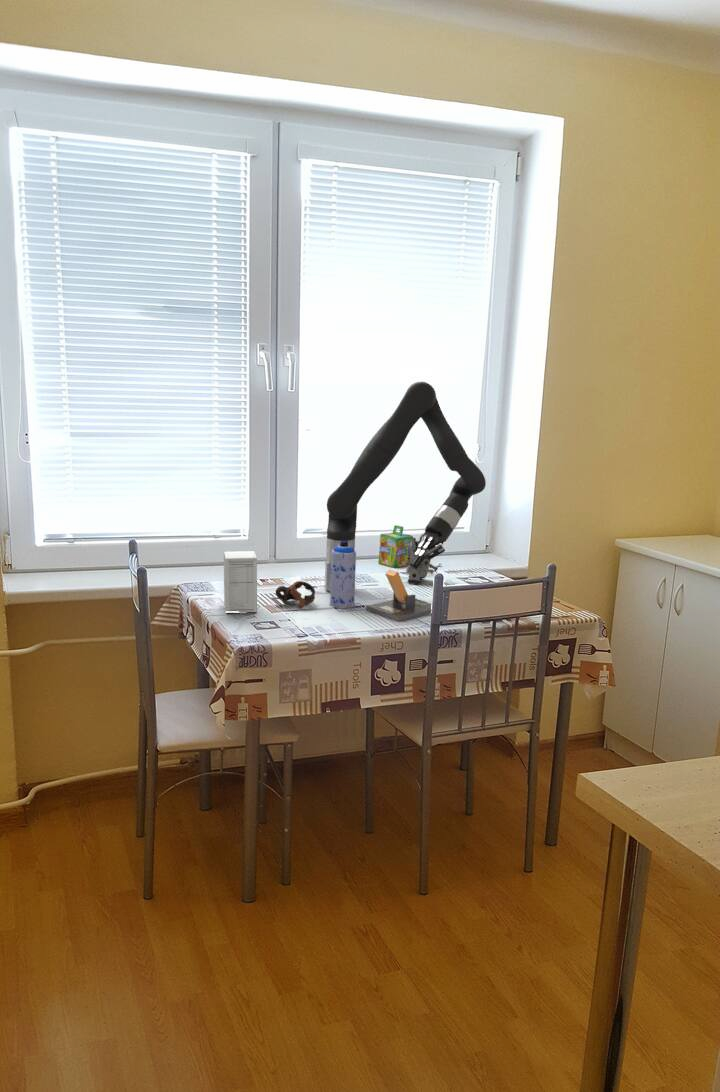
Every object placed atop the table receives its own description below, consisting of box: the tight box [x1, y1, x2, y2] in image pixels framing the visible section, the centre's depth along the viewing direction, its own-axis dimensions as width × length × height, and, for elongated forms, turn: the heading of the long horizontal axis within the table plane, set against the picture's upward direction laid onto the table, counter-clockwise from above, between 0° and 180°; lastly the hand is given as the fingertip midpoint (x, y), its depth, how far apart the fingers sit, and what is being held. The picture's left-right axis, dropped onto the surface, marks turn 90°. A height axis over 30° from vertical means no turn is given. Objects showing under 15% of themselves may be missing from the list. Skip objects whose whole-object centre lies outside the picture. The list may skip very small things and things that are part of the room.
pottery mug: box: [275, 580, 316, 609], centre depth 245 cm, size 12×10×8 cm
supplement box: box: [223, 550, 258, 613], centre depth 237 cm, size 10×9×17 cm
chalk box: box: [378, 524, 414, 569], centre depth 303 cm, size 9×9×15 cm
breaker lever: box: [384, 569, 409, 605], centre depth 241 cm, size 2×4×12 cm
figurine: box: [405, 540, 443, 585], centre depth 278 cm, size 9×12×15 cm
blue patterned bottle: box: [329, 541, 357, 609], centre depth 246 cm, size 8×8×20 cm
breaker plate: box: [365, 593, 432, 622], centre depth 243 cm, size 18×14×6 cm
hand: (412, 567), depth 243 cm, fingers closed
